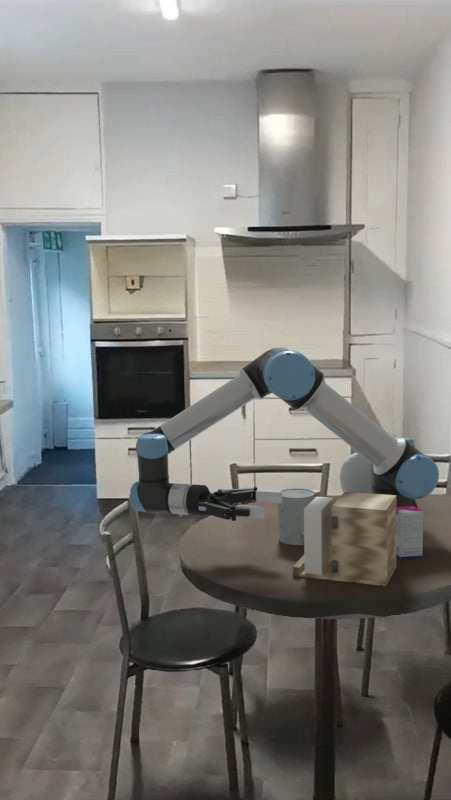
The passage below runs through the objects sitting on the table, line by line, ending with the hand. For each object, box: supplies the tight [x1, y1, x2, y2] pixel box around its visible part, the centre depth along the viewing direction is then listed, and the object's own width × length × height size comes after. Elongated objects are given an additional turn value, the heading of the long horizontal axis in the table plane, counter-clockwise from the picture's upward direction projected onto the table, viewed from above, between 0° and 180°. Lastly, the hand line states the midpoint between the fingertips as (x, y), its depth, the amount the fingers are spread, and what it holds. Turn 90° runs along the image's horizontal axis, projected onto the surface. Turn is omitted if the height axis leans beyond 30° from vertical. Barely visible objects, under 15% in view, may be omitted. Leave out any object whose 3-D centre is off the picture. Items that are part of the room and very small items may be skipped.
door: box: [301, 496, 334, 575], centre depth 187 cm, size 5×11×15 cm, turn 159°
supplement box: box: [396, 506, 424, 560], centre depth 195 cm, size 6×6×12 cm
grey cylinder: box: [277, 488, 316, 546], centre depth 209 cm, size 10×10×12 cm
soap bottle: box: [339, 417, 371, 494], centre depth 241 cm, size 14×9×26 cm, turn 70°
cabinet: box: [292, 492, 397, 587], centre depth 183 cm, size 21×14×17 cm
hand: (273, 504), depth 190 cm, fingers open, 13 cm apart
